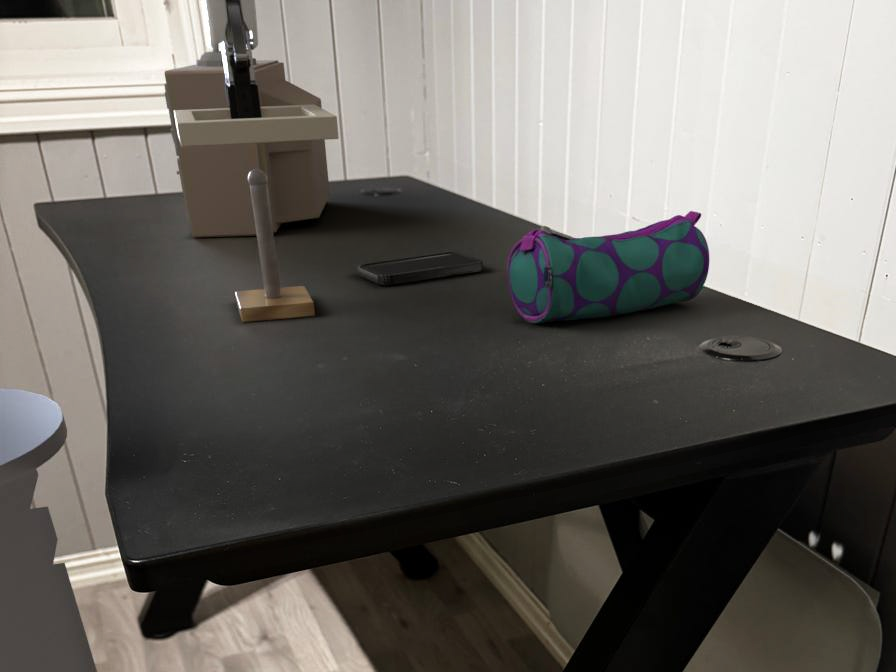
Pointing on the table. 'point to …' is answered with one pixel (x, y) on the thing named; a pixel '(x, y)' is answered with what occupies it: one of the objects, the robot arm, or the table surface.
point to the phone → (419, 268)
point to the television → (244, 155)
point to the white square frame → (255, 126)
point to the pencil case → (607, 271)
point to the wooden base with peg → (269, 268)
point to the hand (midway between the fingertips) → (246, 125)
